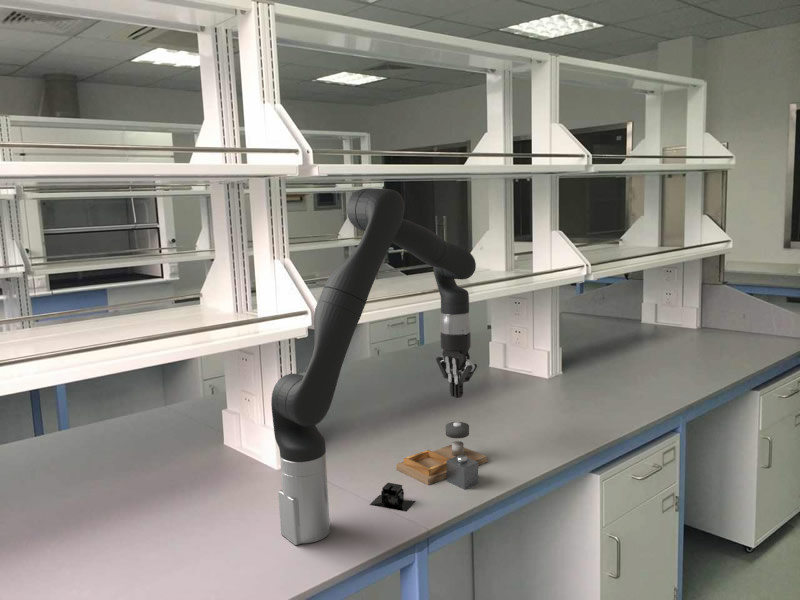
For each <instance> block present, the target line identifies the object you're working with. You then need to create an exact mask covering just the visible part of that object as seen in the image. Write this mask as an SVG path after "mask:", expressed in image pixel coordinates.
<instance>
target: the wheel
mask: <svg viewBox="0 0 800 600" xmlns="http://www.w3.org/2000/svg"><path fill="white" fill-rule="evenodd" d="M445 436H446V437H448V438H451V439H464V438H467V437H469V436H470V425H469V423H466V422H463V421H462V422H461V421H453V422H447V424H445Z"/></svg>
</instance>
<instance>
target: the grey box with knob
mask: <svg viewBox="0 0 800 600" xmlns="http://www.w3.org/2000/svg"><path fill="white" fill-rule="evenodd" d="M446 461H447V478H446V482H447V483H449V484H451V485H454V486H456V487H458V488H460V489H462V490H467V489H470V488H472V487H475V486H476V485H478V484H479V465H478V462H476V461H474V460H472V459H469V458H467V456H465V455H459V456H456V457H453V458H451V459H448V460H446Z"/></svg>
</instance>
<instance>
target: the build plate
mask: <svg viewBox="0 0 800 600" xmlns="http://www.w3.org/2000/svg"><path fill="white" fill-rule="evenodd" d="M381 489H382V490H381V492H380V494H379V495H377V497H375V499H373V500H372V501H371V502H370V503H369V506H372V507H373V506H375V507H379V508H383V509H389V510H394V511H399V512H400V511H401V512H408V511H409V510H410V509H411V508H412V506H413V505H415V504H416V502H417V501H416V500H412V499H406V498H405V496H404V495H405V492H404V488H403V484H400V483H399V484H398V483H392V482H386V484H384V486H382V488H381Z"/></svg>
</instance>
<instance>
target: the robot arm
mask: <svg viewBox="0 0 800 600" xmlns="http://www.w3.org/2000/svg"><path fill="white" fill-rule="evenodd" d="M346 214H347V218H348V220H349V222H350V223H351V224H352V226H353V227H354V228H356V229H357V230H360V231H363V235H362V237H361V240H360V241H359V243H358V245H357V246H356V248H355V249H354V250H353V251H352V253H351V254H350V255H348V257H347V258H345V260H343V262H341V264H339V266H337V268H336V269H334V271H333V272H332V273H331V274H330V276H329V277H328V278H327V280H326V282H325V283H324V286H323V288H322V290H321V293H320V296H319V298H318V301H317V303H316V307H315V309H314V316H313V318H314V319H313V327H314V328H313V330H314V331H313V332H314V340H313V341H314V343H313V344H314V346H313V351H312V355H311V358H310V361H309V363H308V366H307V368H306V371H305V374H301V373H287V374H285V375H283V376H282V377H280V378H279V379H278V380H277V382H276V383H275V385H274V387H273V389H272V393H271V401H270V402H271V403H270V404H271V417H272V425H273V434H274V435H273V436H274V439H275V442H276V444H277V446H278V449H279V459H280V460H279V461H280V475H281V478H280V479H281V489H280V490H278V492H277V495H278V505H279V506H278V508H279V521H280V525H279V526H280V535H282V537H284V538H285V539H286V540H289V542H291V543H292V544H293V545H294V546H299V545H302V544H310V543H316V542H319V541H321V540H323V539H325V538H326V537H327V536H328V535H329V534H330V532H331V525H330V522H331V521H330V520H331V519H330V506H329V505H330V503H329V488H328V470H327V450H326V449H327V448H326V447H327V446H326V440H325V437H324V435H322V433H321V432H320V431H319V430H318V427H317V425H318V424H320V423H321V422H322V421H323V420H324V419H325V417H326V416H327V414H328V412H329V410H330V408H331V405H332V402H333V400H334V396H335V392H336V388H337V384H338V381H339V377H340V374H341V370H342V367H343V364H344V362H345V358H346V355H347V352H348V350H349V347H350V344H351V342H352V339H353V336H354V333H355V330H356V328H357V326H358V324H359V322H360V319H361V317H362V315H363V313H364V310H365V309H364V308H365V306H366V304H367V301H368V298H369V295H370V292H371V290H372V287H373V285H374V282H375V280H376V278H377V275H378V274H379V270H380V268H381V266H382V263H384V259H385V257H386V255H387V253H388V251H389V249H390V247H391V246H392V244H393V245H396V246H397V247H399V248H401V249H403V250H404V251H406V252H407V253H409V254H411V255H413V256H414V257H415V258H416V259H418V260H420V261H421V262H423V263H425V264H426V265H428V266H430V267H432V268H433V269H432V270H433V275H434V278H435V282H436V285H437V289H438V292H439V295H440V319H439V320H440V321H439V323H440V324H439V325H440V326H439V327H440V329H439V330H440V349H442V350H443V351H442V353H441V355H440V356H437V357H435V361H436V363H437V365H438V367H439V370H440V371H441V372H440V373H441V374H442V377H443V378H444V379H447V380H448V382H449V394H450V396H451V397H453V398H456V399H459V398H463V396H464V383H466V382H470V380H471V379H472V377H473V375H474V373H475V372H476V370H477V369H478V364H476V363H473V362H472V361H471V356H470V353H469V350H470V348H471V346H472V345H471V344H472V342H471V341H472V339H471V338H472V337H471V333H472V332H471V317H470V294H469V292H468V290H467V289H465V288H463V287H460V286H459V285H457V282H456V280H463V281H464V280H467V279H470V278H471V277H473V274H474V273H475V271H476V269H477V266H476V265H477V264H476V263H477V262H476V260H475V257H474V256H473V254H472V253H471V252H470V251H469V250H468V249H465V248H463V247H461V246H458V245H457V244H454V243H451V242H448V241H446V240H444V239H443V238H442V237H441V236H439V235H438V234H436V233H435V232H434V231H432V230H430V229H428V228H427V227H425V226H422V225H420V224H418V223H415V222H413V221H410V220H408V219H405V218H404V217H405V200H404V198H403V195H401V194H400V192H398V191H397V190H393V189H388V188H371V187H370V188H362V189H358V190H356V191H354V192H353V193H352V194H351V195H350V197H349V198H348V201H347V204H346Z"/></svg>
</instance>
